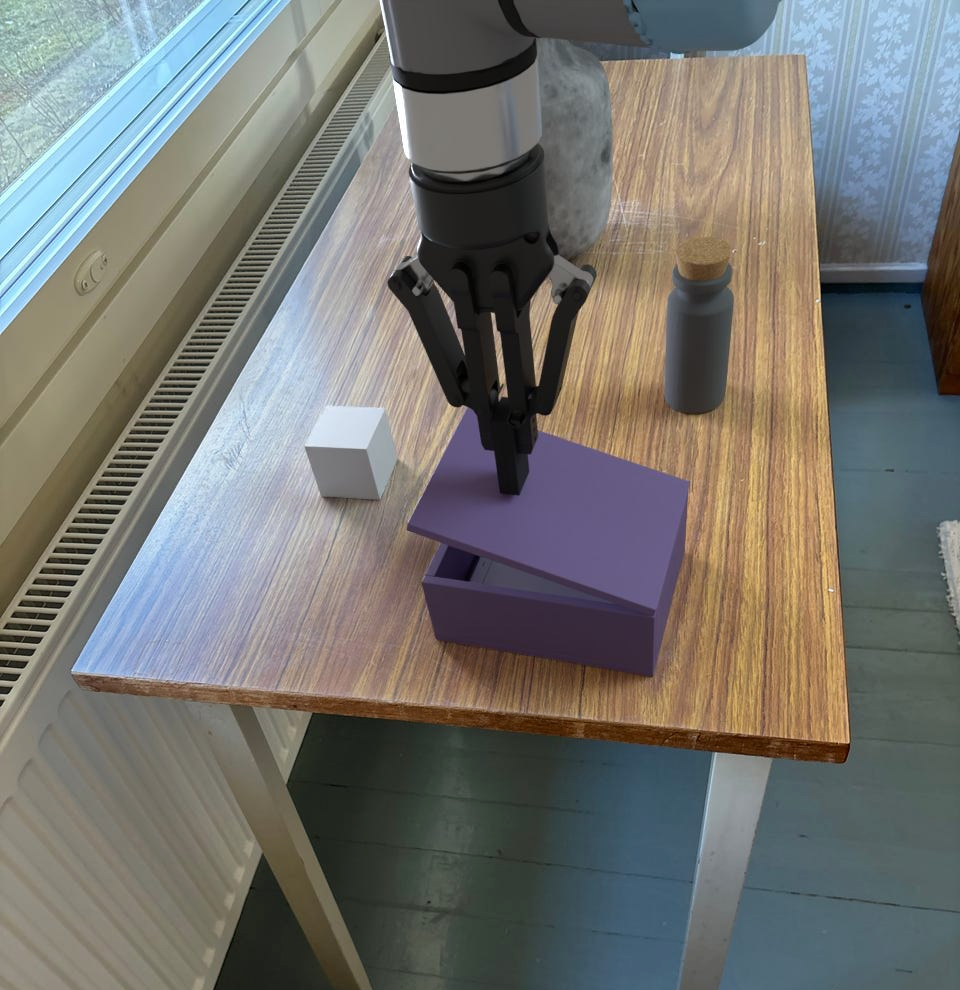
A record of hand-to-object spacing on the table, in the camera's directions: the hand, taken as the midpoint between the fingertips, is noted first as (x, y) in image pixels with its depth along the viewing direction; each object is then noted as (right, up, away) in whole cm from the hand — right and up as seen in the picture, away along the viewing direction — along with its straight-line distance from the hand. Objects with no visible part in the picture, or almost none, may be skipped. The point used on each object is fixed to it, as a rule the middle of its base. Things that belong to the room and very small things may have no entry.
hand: (514, 482), depth 69 cm
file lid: (+3, -2, +1) cm, 4 cm away
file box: (+4, -8, +8) cm, 12 cm away
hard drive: (+3, -7, +8) cm, 11 cm away
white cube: (-14, +4, +21) cm, 26 cm away
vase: (+6, +35, +44) cm, 57 cm away
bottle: (+18, +12, +23) cm, 32 cm away
